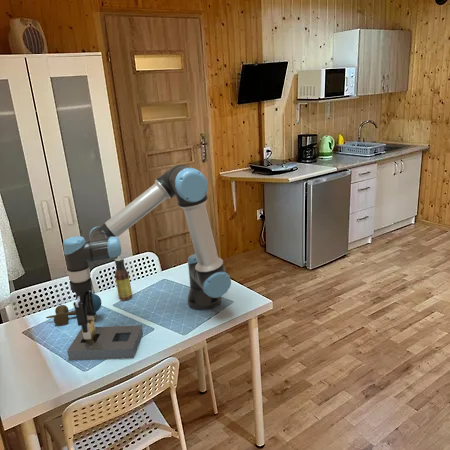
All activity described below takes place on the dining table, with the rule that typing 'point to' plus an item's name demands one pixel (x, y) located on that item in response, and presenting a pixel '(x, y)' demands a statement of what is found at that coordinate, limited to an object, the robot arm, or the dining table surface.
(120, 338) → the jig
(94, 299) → the light bulb
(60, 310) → the kendama
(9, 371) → the dining table surface
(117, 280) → the sauce bottle
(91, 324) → the bushing
